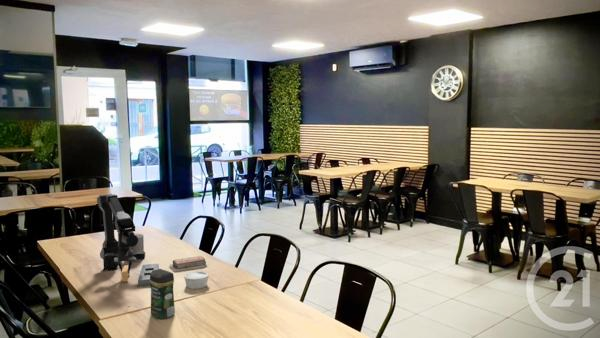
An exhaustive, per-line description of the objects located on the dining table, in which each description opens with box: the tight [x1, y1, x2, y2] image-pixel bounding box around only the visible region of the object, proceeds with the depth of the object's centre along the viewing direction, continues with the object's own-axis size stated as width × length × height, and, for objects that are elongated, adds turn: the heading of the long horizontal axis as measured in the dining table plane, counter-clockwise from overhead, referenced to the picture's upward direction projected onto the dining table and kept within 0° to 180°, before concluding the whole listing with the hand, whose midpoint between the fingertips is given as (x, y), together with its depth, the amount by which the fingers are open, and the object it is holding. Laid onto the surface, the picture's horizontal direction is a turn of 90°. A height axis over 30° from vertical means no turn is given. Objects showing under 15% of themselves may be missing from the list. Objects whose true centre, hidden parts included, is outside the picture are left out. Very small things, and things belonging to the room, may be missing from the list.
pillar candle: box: [127, 233, 145, 263], centre depth 261 cm, size 10×10×15 cm
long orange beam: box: [120, 264, 130, 282], centre depth 230 cm, size 2×10×5 cm, turn 13°
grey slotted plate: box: [137, 263, 160, 287], centre depth 232 cm, size 24×8×3 cm, turn 13°
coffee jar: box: [150, 268, 176, 320], centre depth 187 cm, size 10×8×19 cm
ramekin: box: [183, 271, 209, 290], centre depth 221 cm, size 11×11×5 cm
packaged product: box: [168, 255, 208, 273], centre depth 250 cm, size 18×5×10 cm
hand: (125, 273), depth 230 cm, fingers closed on long orange beam, 2 cm apart
